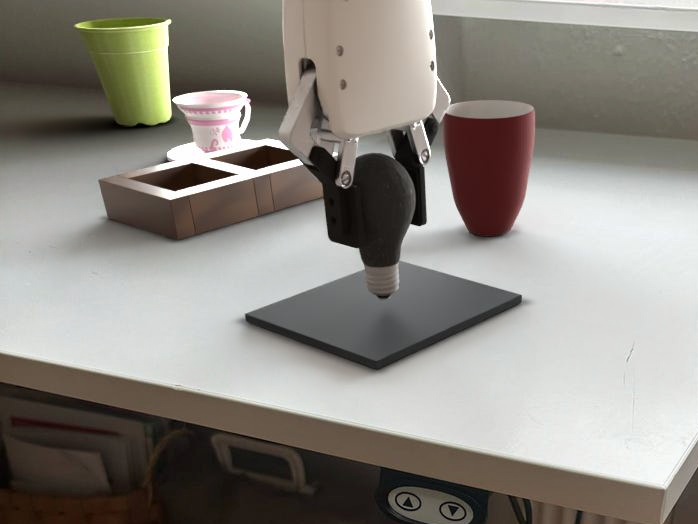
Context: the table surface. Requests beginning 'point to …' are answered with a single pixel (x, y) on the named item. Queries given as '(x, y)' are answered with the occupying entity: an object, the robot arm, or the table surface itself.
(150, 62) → the plant pot
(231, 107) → the teacup
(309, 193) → the wooden divided tray
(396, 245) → the light bulb
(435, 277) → the mat
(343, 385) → the table surface
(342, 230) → the robot arm
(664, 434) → the table surface
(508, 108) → the mug
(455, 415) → the table surface
